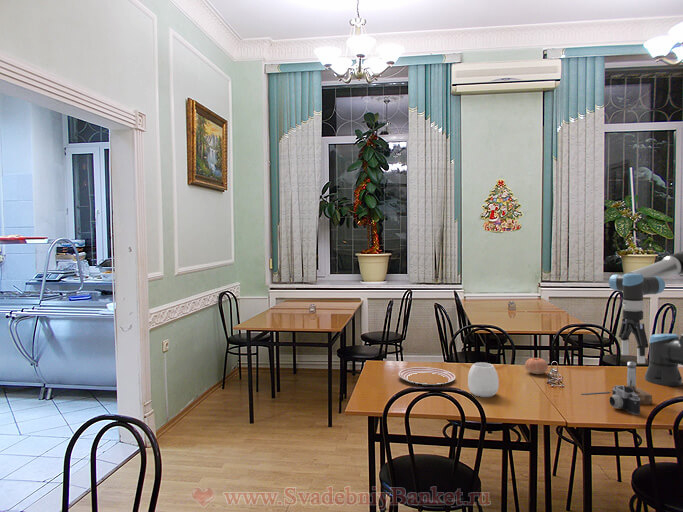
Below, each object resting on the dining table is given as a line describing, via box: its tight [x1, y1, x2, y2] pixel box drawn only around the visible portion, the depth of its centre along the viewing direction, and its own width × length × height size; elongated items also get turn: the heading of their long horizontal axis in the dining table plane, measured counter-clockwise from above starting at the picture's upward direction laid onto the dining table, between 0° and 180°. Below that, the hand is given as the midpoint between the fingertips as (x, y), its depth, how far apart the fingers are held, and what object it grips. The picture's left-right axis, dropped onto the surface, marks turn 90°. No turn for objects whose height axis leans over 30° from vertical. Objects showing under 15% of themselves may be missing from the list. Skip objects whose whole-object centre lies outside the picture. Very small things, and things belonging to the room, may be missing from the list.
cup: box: [467, 362, 500, 398], centre depth 221 cm, size 13×13×14 cm
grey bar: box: [626, 361, 637, 393], centre depth 213 cm, size 3×3×16 cm
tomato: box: [524, 357, 549, 375], centre depth 254 cm, size 11×11×8 cm
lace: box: [580, 391, 611, 396], centre depth 221 cm, size 14×1×1 cm, turn 100°
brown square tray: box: [611, 386, 653, 405], centre depth 213 cm, size 11×11×4 cm
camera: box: [608, 384, 641, 415], centre depth 202 cm, size 16×8×10 cm, turn 2°
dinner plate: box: [398, 366, 456, 386], centre depth 244 cm, size 27×27×3 cm
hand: (632, 359), depth 213 cm, fingers open, 13 cm apart
